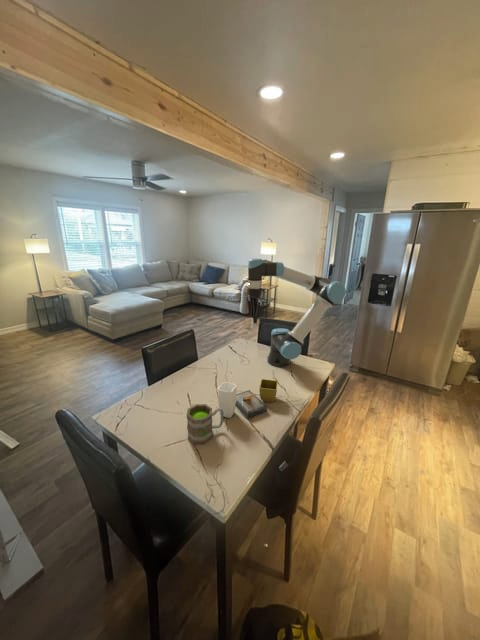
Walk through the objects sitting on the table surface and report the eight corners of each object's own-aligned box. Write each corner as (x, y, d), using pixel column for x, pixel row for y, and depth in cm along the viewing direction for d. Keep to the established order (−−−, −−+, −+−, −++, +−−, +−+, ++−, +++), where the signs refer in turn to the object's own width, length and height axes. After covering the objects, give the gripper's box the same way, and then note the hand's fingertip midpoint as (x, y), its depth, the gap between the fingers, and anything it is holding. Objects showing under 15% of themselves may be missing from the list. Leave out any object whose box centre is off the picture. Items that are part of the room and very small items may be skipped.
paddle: (249, 394, 132) (255, 393, 126) (250, 397, 132) (256, 396, 126) (241, 397, 130) (247, 396, 124) (242, 400, 129) (248, 398, 124)
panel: (249, 394, 139) (249, 389, 138) (267, 411, 126) (267, 406, 125) (231, 401, 133) (231, 395, 132) (247, 419, 120) (248, 413, 119)
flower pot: (275, 405, 131) (276, 390, 128) (258, 403, 132) (259, 387, 130) (276, 395, 139) (278, 380, 136) (260, 393, 141) (261, 378, 138)
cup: (216, 416, 122) (216, 388, 117) (223, 407, 128) (223, 381, 124) (230, 421, 119) (231, 392, 115) (237, 411, 126) (237, 384, 121)
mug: (190, 448, 103) (189, 423, 100) (184, 430, 113) (183, 407, 109) (227, 437, 110) (227, 413, 106) (219, 421, 119) (219, 398, 115)
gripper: (242, 286, 146) (242, 325, 154) (256, 290, 136) (255, 332, 143) (253, 285, 150) (252, 323, 157) (267, 288, 140) (265, 330, 147)
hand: (253, 328), depth 150 cm, fingers closed
